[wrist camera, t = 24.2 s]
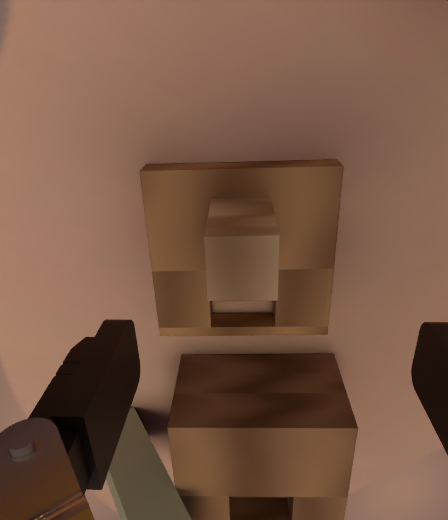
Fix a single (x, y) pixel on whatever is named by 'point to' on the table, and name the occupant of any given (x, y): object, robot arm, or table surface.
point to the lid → (242, 244)
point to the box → (262, 437)
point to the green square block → (142, 478)
